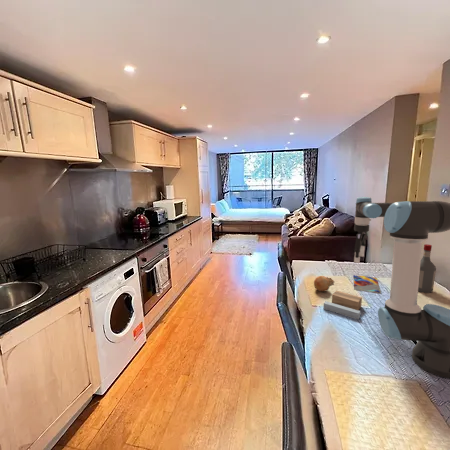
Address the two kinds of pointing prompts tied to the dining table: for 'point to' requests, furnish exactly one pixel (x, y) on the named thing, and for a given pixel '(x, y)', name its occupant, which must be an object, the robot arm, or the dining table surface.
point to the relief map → (366, 284)
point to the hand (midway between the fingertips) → (359, 259)
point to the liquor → (426, 272)
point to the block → (346, 300)
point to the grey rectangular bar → (342, 310)
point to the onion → (321, 283)
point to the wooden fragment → (330, 281)
